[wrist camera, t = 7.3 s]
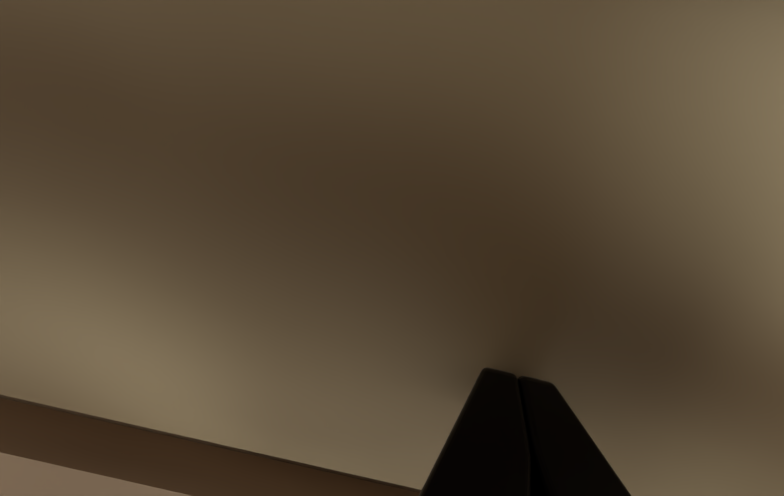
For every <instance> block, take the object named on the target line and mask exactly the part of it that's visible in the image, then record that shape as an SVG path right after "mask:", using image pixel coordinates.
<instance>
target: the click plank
mask: <svg viewBox="0 0 784 496" xmlns="http://www.w3.org/2000/svg"><path fill="white" fill-rule="evenodd" d="M486 367H488V368H493V369H497V370H501V371H506V372H510V373H513V374H514V375H515V376H516V377H517V378H518V377H521V376H527V377H532V378H536V379H540V380H545V381H548V382H551V383H552V384H554V385H555V386H556V388H557V389H558V390H559V392H560V393H561V395H562V396H563V397H564V399H565V400H566V402H567V403H568V405H569V406H570V408H571V409H572V411H573V412H574V413H575V415H576V416H577V418H578V419H579V421H580V422H581V424H582V425H583V426H584V428H585V429H586V431H587V432H588V434H589V435H590V437H591V438H592V439H593V441H594V442H595V444H596V445H597V447H598V448H599V450H600V451H601V452H602V454H603V455H604V457H605V458H606V460H607V461H608V463H609V464H610V465H611V467H612V468H613V470H614V471H615V473H616V474H617V476H618V477H619V478H620V480H621V481H622V483H623V484H624V486H625V487H626V489H627V490H628V491H629V493H630V494H631V496H784V0H0V395H5V396H9V397H13V398H18V399H22V400H27V401H31V402H35V403H40V404H44V405H49V406H53V407H58V408H62V409H66V410H71V411H75V412H80V413H84V414H88V415H93V416H97V417H102V418H106V419H110V420H115V421H119V422H124V423H128V424H133V425H137V426H141V427H146V428H150V429H155V430H159V431H163V432H168V433H172V434H177V435H181V436H186V437H190V438H194V439H199V440H203V441H208V442H212V443H216V444H221V445H225V446H230V447H234V448H238V449H243V450H247V451H252V452H256V453H261V454H265V455H269V456H274V457H278V458H283V459H287V460H291V461H296V462H300V463H305V464H309V465H313V466H318V467H322V468H327V469H331V470H336V471H340V472H344V473H349V474H353V475H358V476H362V477H366V478H371V479H375V480H380V481H384V482H389V483H393V484H397V485H402V486H406V487H411V488H415V489H419V490H422V488H423V486H424V484H425V482H426V480H427V478H428V476H429V474H430V472H431V470H432V468H433V466H434V464H435V462H436V460H437V458H438V456H439V454H440V452H441V450H442V448H443V446H444V444H445V442H446V440H447V438H448V436H449V434H450V432H451V430H452V428H453V426H454V424H455V422H456V420H457V418H458V416H459V414H460V412H461V410H462V408H463V406H464V404H465V402H466V400H467V398H468V396H469V394H470V392H471V390H472V388H473V386H474V384H475V382H476V380H477V378H478V376H479V374H480V372H481V370H482V369H483V368H486Z"/></svg>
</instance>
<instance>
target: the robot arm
mask: <svg viewBox="0 0 784 496" xmlns="http://www.w3.org/2000/svg"><path fill="white" fill-rule="evenodd" d="M419 496H631V494H630V493H629V491H628V490H627V489H626V487H625V486H624V484H623V483H622V481H621V480H620V478H619V477H618V476H617V474H616V473H615V471H614V470H613V468H612V467H611V465H610V464H609V463H608V461H607V460H606V458H605V457H604V455H603V454H602V452H601V451H600V450H599V448H598V447H597V445H596V444H595V442H594V441H593V439H592V438H591V437H590V435H589V434H588V432H587V431H586V429H585V428H584V426H583V425H582V424H581V422H580V421H579V419H578V418H577V416H576V415H575V413H574V412H573V411H572V409H571V408H570V406H569V405H568V403H567V402H566V400H565V399H564V397H563V396H562V395H561V393H560V392H559V390H558V389H557V388H556V386H555V385H554V384H552V383H551V382H548V381H545V380H540V379H536V378H532V377H527V376H521V377H518V378H517V377H516V376H515V375H514V374H513V373H510V372H506V371H501V370H497V369H493V368H488V367H486V368H483V369H482V370H481V372H480V374H479V376H478V378H477V380H476V382H475V384H474V386H473V388H472V390H471V392H470V394H469V396H468V398H467V400H466V402H465V404H464V406H463V408H462V410H461V412H460V414H459V416H458V418H457V420H456V422H455V424H454V426H453V428H452V430H451V432H450V434H449V436H448V438H447V440H446V442H445V444H444V446H443V448H442V450H441V452H440V454H439V456H438V458H437V460H436V462H435V464H434V466H433V468H432V470H431V472H430V474H429V476H428V478H427V480H426V482H425V484H424V486H423V488H422V490H421V492H420V494H419Z"/></svg>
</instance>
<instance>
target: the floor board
mask: <svg viewBox="0 0 784 496" xmlns="http://www.w3.org/2000/svg"><path fill="white" fill-rule="evenodd" d="M420 492H421V490H419V489H415V488H411V487H406V486H402V485H397V484H393V483H389V482H384V481H380V480H375V479H371V478H366V477H362V476H358V475H353V474H349V473H344V472H340V471H336V470H331V469H327V468H322V467H318V466H313V465H309V464H305V463H300V462H296V461H291V460H287V459H283V458H278V457H274V456H269V455H265V454H261V453H256V452H252V451H247V450H243V449H238V448H234V447H230V446H225V445H221V444H216V443H212V442H208V441H203V440H199V439H194V438H190V437H186V436H181V435H177V434H172V433H168V432H163V431H159V430H155V429H150V428H146V427H141V426H137V425H133V424H128V423H124V422H119V421H115V420H110V419H106V418H102V417H97V416H93V415H88V414H84V413H80V412H75V411H71V410H66V409H62V408H58V407H53V406H49V405H44V404H40V403H35V402H31V401H27V400H22V399H18V398H13V397H9V396H5V395H0V496H419V494H420Z"/></svg>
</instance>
